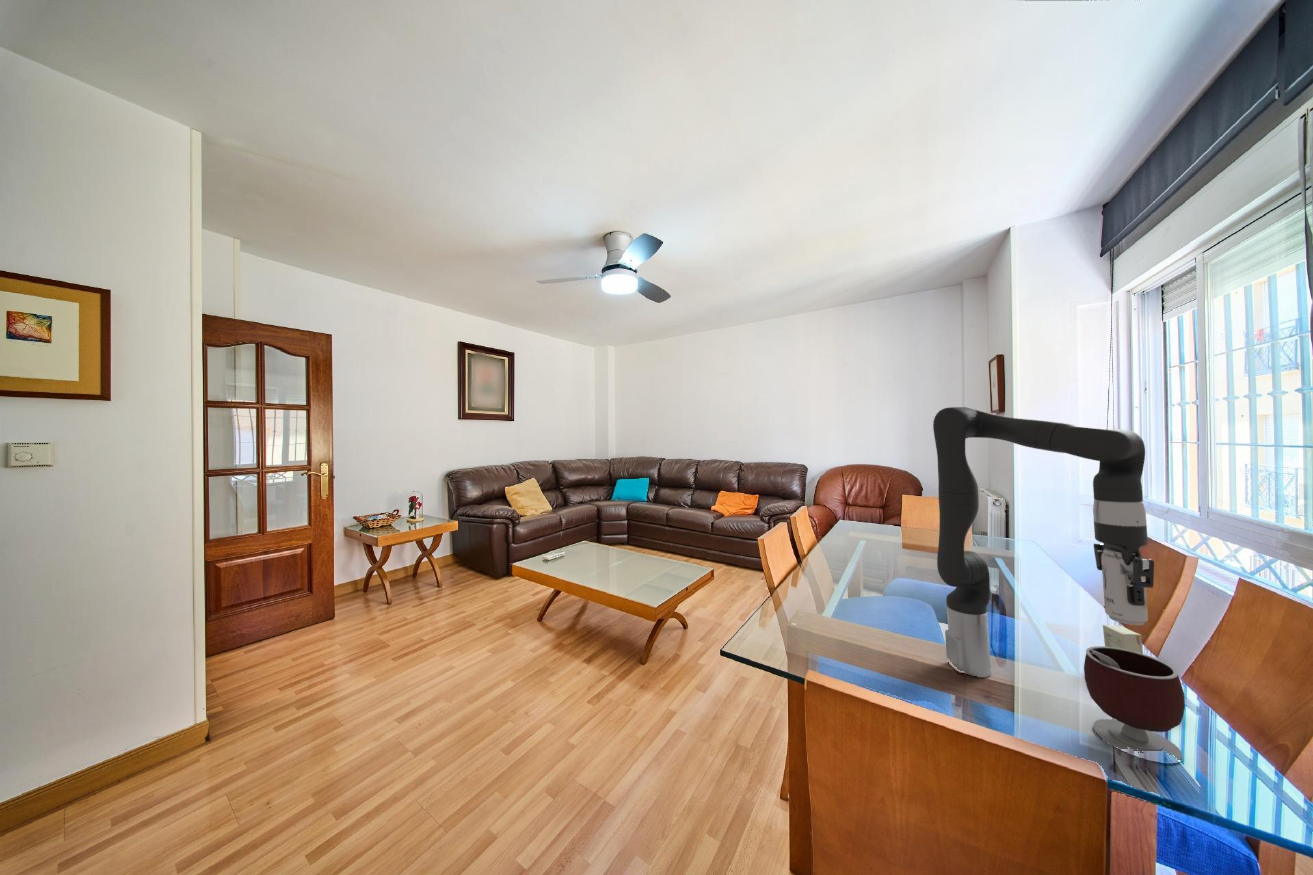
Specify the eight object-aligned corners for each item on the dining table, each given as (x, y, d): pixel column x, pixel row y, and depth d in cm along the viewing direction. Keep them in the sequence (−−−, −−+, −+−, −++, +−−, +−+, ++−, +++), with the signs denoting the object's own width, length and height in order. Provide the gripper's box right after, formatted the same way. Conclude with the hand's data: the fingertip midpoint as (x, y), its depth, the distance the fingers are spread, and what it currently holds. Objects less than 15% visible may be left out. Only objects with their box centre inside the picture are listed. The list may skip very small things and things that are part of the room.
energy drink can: (1104, 612, 91) (1099, 545, 91) (1146, 619, 86) (1141, 549, 87) (1106, 621, 86) (1101, 551, 87) (1150, 629, 82) (1145, 555, 82)
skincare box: (1146, 682, 105) (1143, 635, 106) (1126, 681, 106) (1123, 634, 107) (1123, 668, 112) (1120, 624, 112) (1105, 667, 113) (1101, 623, 113)
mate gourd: (1127, 717, 93) (1120, 630, 93) (1212, 764, 79) (1204, 662, 80) (1063, 722, 92) (1057, 634, 93) (1137, 770, 79) (1129, 667, 79)
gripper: (1171, 528, 79) (1177, 614, 78) (1118, 515, 92) (1123, 588, 92) (1119, 527, 81) (1125, 610, 81) (1076, 514, 95) (1080, 586, 94)
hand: (1124, 598), depth 86 cm, fingers closed on energy drink can, 6 cm apart
